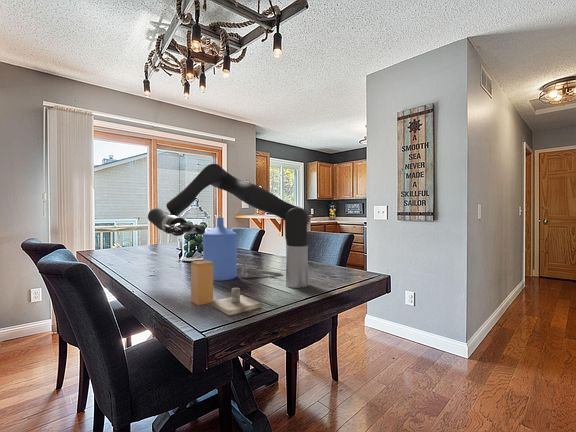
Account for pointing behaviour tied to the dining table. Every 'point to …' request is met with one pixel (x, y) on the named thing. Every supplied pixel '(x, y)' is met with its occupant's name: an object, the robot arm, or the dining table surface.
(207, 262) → the orange tall block
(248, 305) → the stub plate
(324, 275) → the dining table surface
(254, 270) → the caliper
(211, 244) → the water jug
